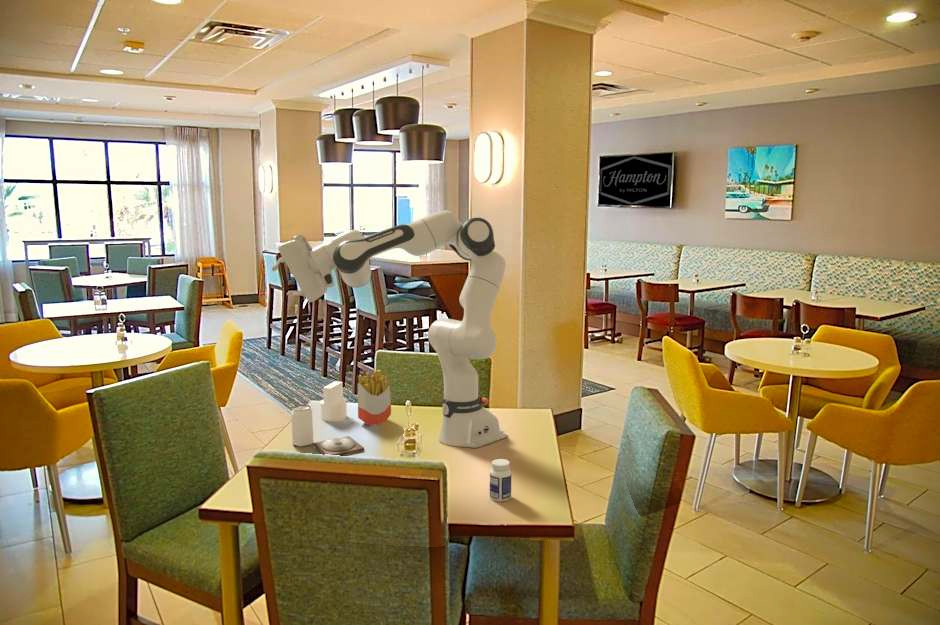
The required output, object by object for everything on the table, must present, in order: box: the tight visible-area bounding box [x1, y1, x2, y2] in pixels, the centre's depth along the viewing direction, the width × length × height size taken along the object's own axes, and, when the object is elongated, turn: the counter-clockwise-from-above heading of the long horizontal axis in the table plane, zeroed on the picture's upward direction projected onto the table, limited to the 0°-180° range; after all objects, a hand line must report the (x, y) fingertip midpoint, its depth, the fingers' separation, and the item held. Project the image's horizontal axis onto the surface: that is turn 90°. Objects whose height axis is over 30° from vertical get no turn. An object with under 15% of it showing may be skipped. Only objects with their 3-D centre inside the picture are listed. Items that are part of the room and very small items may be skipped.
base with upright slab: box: [319, 380, 348, 422], centre depth 241 cm, size 9×9×12 cm
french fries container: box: [356, 369, 392, 427], centre depth 235 cm, size 5×11×18 cm, turn 131°
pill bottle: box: [489, 458, 512, 503], centre depth 179 cm, size 6×6×10 cm
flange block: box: [312, 435, 365, 456], centre depth 213 cm, size 12×12×2 cm
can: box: [290, 404, 314, 447], centre depth 216 cm, size 6×6×12 cm
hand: (279, 282), depth 212 cm, fingers open, 8 cm apart
